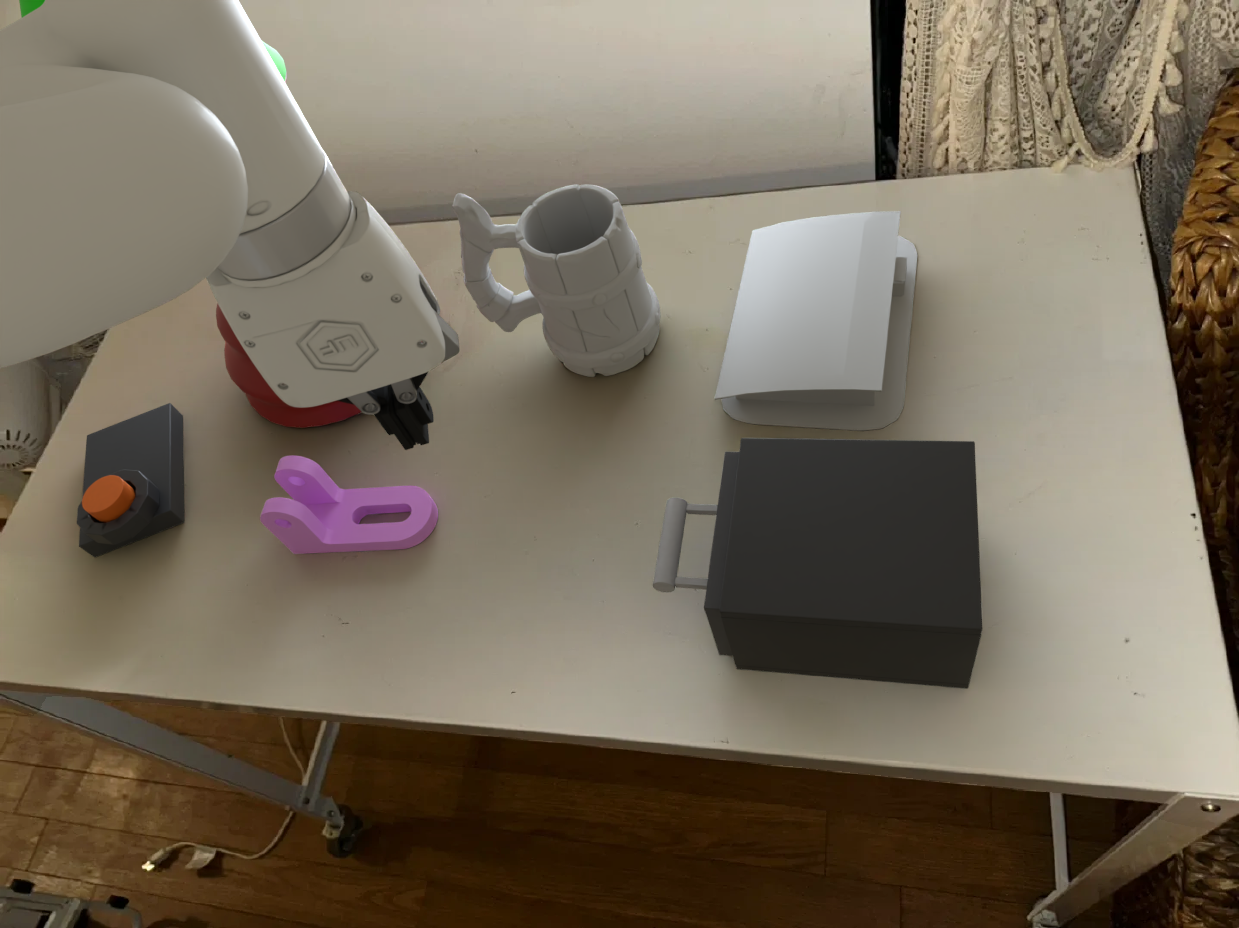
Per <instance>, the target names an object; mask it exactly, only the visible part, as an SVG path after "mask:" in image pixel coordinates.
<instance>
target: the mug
mask: <svg viewBox="0 0 1239 928" xmlns="http://www.w3.org/2000/svg"><path fill="white" fill-rule="evenodd" d="M452 209H453V212H454V213H455V215H456V217H457V220H458V224H459V228H460V229H459V235H460V236H459V238H460V258H461V270H462V273H463V283H464V285H465V288H466V290H467V291H468V293H469V294H470V296H471V298H472V300H473V301H474V303H475V304H476V308H477V309H478V311H479V312H480V313H481V314H482V315H483V317H484V318H485V319H487V320H488V322H490V323H495V324H496V325H497V326H498V327H499V328H501V330H502V331H504V332H505V333H513V332H514V330H515V329H517V327H518V326H519V325H520V324H521V322H523V321H524V320H526V319H528V318H531V317H533V316H535V315H539V314H541V315H542V332H543V333H542V334H543V337H544V339H545V342H546V344H547V346H548V348H549V350H550V351H551V353H552V354H553V355H554V356H555V357H556V358H557V359H558V360H559V361H560V362H562V363H563V365H564V367H565V368H567V369H568V371H571V372H573V373H575V374H577V375H581V376H584V377H590V378H591V377H592V378H594V377H595V376H596V374H600V375H603V376H605V377H609V376H614V375H615V374H619V373H622V372H626V371H628V370H631V369H632V368H634V367H635V366H637V365H638V364H639V363H641V362H642V361H643V360H644V357H645V356H649V354H650V353H651V352H653V350H654V348H655V346H656V343H657V341H658V338H659V335H660V324H661V318H662V317H661V316H662V315H661V305H660V301H659V298H658V296H657V293H656V291H655V290H654V288H653V287H652V285H650V284H649V282H647V279H646V277H645V274H644V273H645V272H644V270H643V267H642V266H643V259H642V252H641V248H640V243H639V241H638V239H637V237H636V235H635V233H634V231H632V229H631V228H630V227H629V224H628V221H627V218H626V215H625V211H624V209H623V206H622V204H621V202H620V200H619V198H618V196H617V195H616V194H615V193H614V192H612V191H611V190H609V189H608V188H606V187H603V186H599V185H596V184H590V183H586V184H581V185H579V184H577V183H576V184H571V185H565V186H562V187H558V188H556V189H553V190H551V191H548V192H547V193H544V194H542V195H541V196H539V197H538V198H536V199H535V200H533V202H532V205H528V206H527V207H526V208H525V209H524V210H523V211H522V213H521V215H520V216H519V218H518V220H517V222H516V223H515V224H513V223H507V224H495V223H494V222H493V219H492V217H491V216H490V214H489V212H488V210H486V209H485V208H484V207H483V206H481V204H479V202H477V201H476V200H475V199H474V198H473V197H470V196H469V195H467V194H465V193H463V192H457V193H456V194H455V196H454V199H453V202H452ZM511 248H512V249H514V248H515V249H518V250H519V252H520V255H521V258H522V261H523V275H524V280H525V282H526V285H527V287H528V290H525V291H522V292H520V293H518V294H514V291H512V290H510V289H508V288H507V287H505V286H503V285H502V283H500V282H497V281H496V279H495V278H494V275H493V273H492V269H491V267H490V265H489V263H490V260H491V257H492V255H493V254H494V251H495V250H497V249H511Z"/></svg>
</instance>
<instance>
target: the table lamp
mask: <svg viewBox="0 0 1239 928" xmlns="http://www.w3.org/2000/svg"><path fill="white" fill-rule="evenodd" d="M18 2H19V8H20V10H19V11H20V16H21V18H22V17H24V16H26V15H27V14H29V13H31V12H32V11H34V10H36V9H37V8H39V7H40V6H41V5H42V4H43V3H44V2H45V0H18ZM261 41H262V43H263V45H264V46H265V48H266V50H267V52H268V53H269V55H270V57H271V59H272V60H273V62H274V64H275V66H276V67H277V69H278V71H279V73H280V75H281V76H282V78H283V80H284V82H285V83H286V84H287V78H288V77H287V74H288V73H287V67H286V63H285V59H284V58H283V56H282V55H281V54H280V53H279V52H278V50H277V49H275V48H274V47H272V46H270V45H269V44H268V43H266V42H264V40H262V39H261ZM215 318H216V326H217V329H218V331H219V333H220V336H221V337H222V339H223V341H224V342H225V343H224V350H223V351H224V352H223V353H224V362H225V363H224V364H225V369H226V371H227V373H228V376H229V377H230V380H231V381H232V382H233V383H234V384H235V385H236V386H237V387H238V388H239V390H240V391H241V392H242V393H244V394H245V397H246V398H247V400H248V402H249V405H250V407H252V408H253V409H254V411H255V412H256V413H257V414H258V415H259V416H260V417H262V418H264V419H266V420H267V421H269V422H270V423H273V424H276V425H279V426H283V427H286V428H301V429H304V428H311V427H320V426H327V425H329V424H335V423H338V422H342V421H345V420H347V419H349V418H352V417H354V416H357V415H359V414H363V412H361V411H360V410H359V409H358V408H357V407H356V406H355V405H353V404H349V403H344V402H340V401H333V402H330V403H326V404H322V405H318V406H314V407H306V408H299V407H293V406H290V405H288V404H286V403H285V402H283V401H282V400H281V399H280V398H279V397H278V396H277V395H276V393H275V392H274V391H273V390H272V389H271V387H270V386H269V385H268V383H267V382H266V381H265V379H264V378H263V377H262V375H261V374H260V372H259V371H258V369H257V368H256V367H255V365H254V364H253V362H252V361H251V359H250V358H249V356H248V355H247V353H246V352H245V350H244V349H243V347H242V345H241V344H240V342H239V340H238V339H237V337H236V335H235V334H234V332H233V330H232V328H231V327H230V325H229V323H228V321H227V320H226V318H225V316H224V314H223V312H222V310H221V309H220V307H219V305H218V303H217V302H216V308H215ZM421 342H422V341H421ZM283 384H284V383H283Z"/></svg>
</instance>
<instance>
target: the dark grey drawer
mask: <svg viewBox="0 0 1239 928" xmlns="http://www.w3.org/2000/svg"><path fill="white" fill-rule="evenodd" d="M738 458H739V451H724V456H723V463H722V470H721V476H720V483H719V484H720V485H719V494H718V499H717V500H718V501H717V504H708V503H688V501H687V500H686V499H684V498H682V497H677V496H674V497H669V498H667V500H666V502H665V508H664V514H663V521H662V527H661V532H660V537H659V542H658V543H659V544H658V550H657V556H656V562H655V568H654V573H653V579H652V584H651V586H652V588H653V589H654V590H656V591H658V592H660V593H666V594H667V593H673V592H674V591H675V590H676V588H677V589H693V590H694V589H695V590H705V595H704V596H705V597H704V602H703V603H704V604H703V609H704V612H705V615H706V616H705V617H706V619H707V621H708V626H709V628H710V630H711V634H712V638H713V640H714V644H715V646H716V649H717V652H718V655H719V656H729V657H733V656H732V652H731V649H730V646H729V642H728V639H727V636H726V632H725V629H724V626H723V622H722V619H721V615H720V603H721V595H722V587H723V579H724V571H725V563H726V555H727V547H728V539H729V531H730V523H731V515H732V507H733V498H734V490H735V482H736V474H737V466H738ZM687 515H700V516H715V524H714V530H713V537H712V545H711V552H710V558H709V559H710V560H709V565H708V576H707V577H706V578H705V577H692V576H691V577H689V576H687V577H686V576H678V572H679V567H680V566H679V565H680V558H681V552H682V546H683V539H684V533H685V527H686V520H687Z"/></svg>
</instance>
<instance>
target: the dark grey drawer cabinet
mask: <svg viewBox="0 0 1239 928" xmlns="http://www.w3.org/2000/svg"><path fill="white" fill-rule="evenodd" d="M738 452H739V458H738V466H737V474H736V482H735V490H734V498H733V507H732V515H731V523H730V531H729V539H728V547H727V555H726V563H725V571H724V579H723V587H722V595H721V603H720V615H721V619H722V622H723V626H724V629H725V632H726V636H727V639H728V642H729V646H730V649H731V652H732V656H731V657H732V660H733V663H734V666H735V669H737V670H741V671H742V670H743V671H753V672H754V671H755V672H766V673H776V674H777V673H779V674H788V675H789V674H791V675H802V676H813V677H826V678H836V679H838V678H839V679H848V680H849V679H850V680H860V681H861V680H862V681H872V682H885V683H897V684H906V685H919V686H932V687H943V688H944V687H945V688H954V689H966V690H967V689H969V686H970V684H971V683H970V682H971V678H972V676H973V671H974V667H975V663H976V659H977V655H978V650H979V646H980V642H981V639H982V633H983V629H984V627H983V608H982V607H983V605H982V604H983V603H982V583H981V582H982V581H981V558H980V556H981V555H980V536H979V535H980V532H979V513H978V512H979V510H978V492H977V491H978V488H977V487H978V486H977V466H976V465H977V464H976V463H977V462H976V461H977V460H976V442H975V441H973V440H966V441H965V440H921V439H920V440H919V439H918V440H915V439H914V440H913V439H911V440H909V439H906V440H905V439H853V438H852V439H851V438H850V439H848V438H847V439H846V438H788V437H787V438H786V437H785V438H783V437H782V438H781V437H780V438H778V437H777V438H776V437H741V438H740V443H739V451H738Z"/></svg>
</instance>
